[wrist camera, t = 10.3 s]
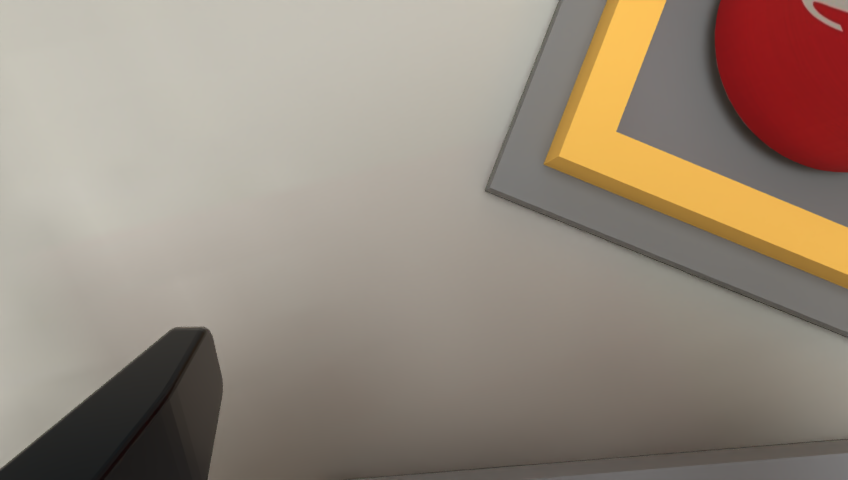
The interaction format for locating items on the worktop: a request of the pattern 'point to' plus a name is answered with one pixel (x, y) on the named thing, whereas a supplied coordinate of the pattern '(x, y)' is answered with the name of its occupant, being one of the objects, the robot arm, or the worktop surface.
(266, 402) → the worktop surface
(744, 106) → the beverage can
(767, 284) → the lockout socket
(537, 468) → the indicator board
